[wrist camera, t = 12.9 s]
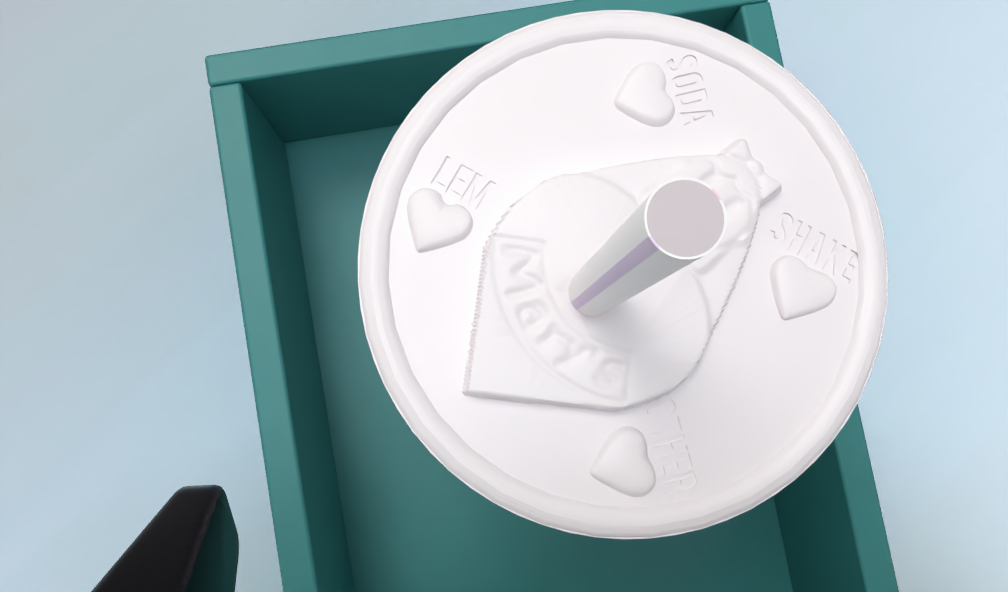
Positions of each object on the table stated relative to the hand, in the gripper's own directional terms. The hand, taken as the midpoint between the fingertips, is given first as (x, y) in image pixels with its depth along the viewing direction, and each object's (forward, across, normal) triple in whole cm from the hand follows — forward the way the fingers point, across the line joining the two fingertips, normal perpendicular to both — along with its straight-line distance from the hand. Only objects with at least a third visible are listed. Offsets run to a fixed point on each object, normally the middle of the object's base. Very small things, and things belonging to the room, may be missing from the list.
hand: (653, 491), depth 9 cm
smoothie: (+9, 0, +6) cm, 11 cm away
